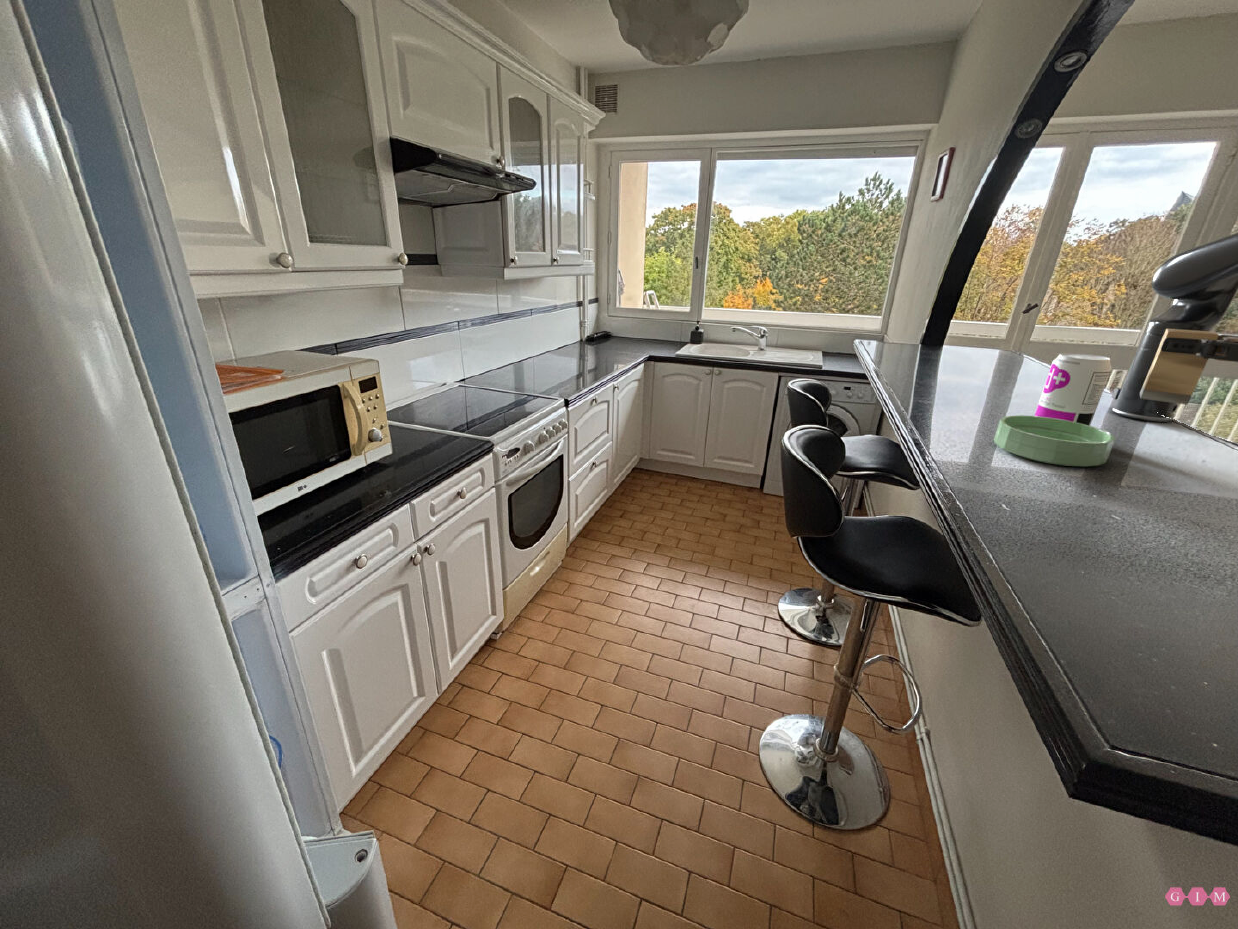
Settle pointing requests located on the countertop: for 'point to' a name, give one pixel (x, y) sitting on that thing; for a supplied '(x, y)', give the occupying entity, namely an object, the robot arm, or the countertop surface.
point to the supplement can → (1074, 387)
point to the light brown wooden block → (1175, 370)
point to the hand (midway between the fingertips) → (1162, 342)
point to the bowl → (1054, 440)
